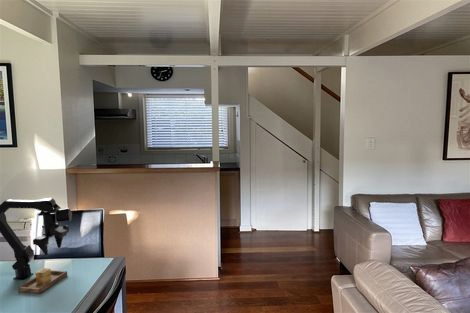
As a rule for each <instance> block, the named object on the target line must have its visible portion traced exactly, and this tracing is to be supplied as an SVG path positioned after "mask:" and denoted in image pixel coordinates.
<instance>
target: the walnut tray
mask: <svg viewBox="0 0 470 313" xmlns="http://www.w3.org/2000/svg"><path fill="white" fill-rule="evenodd" d="M50 272H51V281H49V282H48V283H46V284H45V285H42V284H37V283H36V276H35V277H33V278H31V279H30V280H28V281H27V282H25V283H23V284H21V285H20V286H18V287H17V290H18V293H21V294H32V295H33V294H34V295H35V294H36V295H41V294H43V293H45V292H46V291H48V290H49V289H50V288H52V287H53V286H55V285H56V284H57V283H59V282H60V281H61V280H63V279H65V278H66V277H67V276H68V271H67V270H52V269H50Z"/></svg>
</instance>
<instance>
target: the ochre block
mask: <svg viewBox="0 0 470 313" xmlns="http://www.w3.org/2000/svg"><path fill="white" fill-rule="evenodd" d="M50 270H51V268H46V267H45V268H43V267H42V268H41V269H39V270H37V271H35V277H36V283H37V284H42V285H45V284H46V283H48V282H49V281H51V272H50Z"/></svg>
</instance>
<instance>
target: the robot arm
mask: <svg viewBox="0 0 470 313" xmlns="http://www.w3.org/2000/svg"><path fill="white" fill-rule="evenodd" d="M9 209H32V210H33V209H34V210H37V211H40V212H39V213H38V214H37V216H38V217H39V216H42V219H43V220H42V221H43V225H41V228H43V229H44V230H43V231H44V232H43V233H42V236H40V235H39V236H38V237H35V238H33V239H32V243H33V245H34V246H37V247H38V248H39V249H40V250H41V251H42V253H43V254H44V256H47V255H48V253H49V250H48V249H49V248H48V246H49V244H50V241H49V240H50V239H51V238H53V237H54V239H55V244H56V245H57V248H58V249H60V248H61V246H62V242H63V239H64V237H66V236H67V235H68V233H69V232H70V226H69V225H67V224H66V225H63V226H60V224H59V223H62V222H71V221H72V218H73V212H72V211H71V207H65V208H61V206H59V205H58V203H56V200H55V199H54V198H52V197H47V198H41V199H40V198H39V199H11V198H8V199H5V200H4V201H2V203H1V204H0V234H1V236H2V237H3V238H4V240H5V241H6V243H7V244H8V245H9V246H10V248H11V249H12V251H13V253H14V254H13V255H14V259H15V260H16V261H15V262H14V263H13V264H12V266H11V267H12V269H13V270H14V272H15V273H14V274H15V277H13V280H17V281H18V280H19V281H24V280H26V279H27V278H30V277H31V276H33V275H34V272H33V273H32V269H31V266H30V263H31V261H32V259H33V258H34V256H35V253H34V250H33V248H32V247H31V245H29V244H28V245H24V244H23V242H22V241H21V239H20V238H19V237H18V235H17V234H16V233H15V232H14V230H13V229H12V227H11V226H10V224H9V223H8V221H7V215H6V212H7V211H8V210H9ZM58 222H59V223H58Z"/></svg>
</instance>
